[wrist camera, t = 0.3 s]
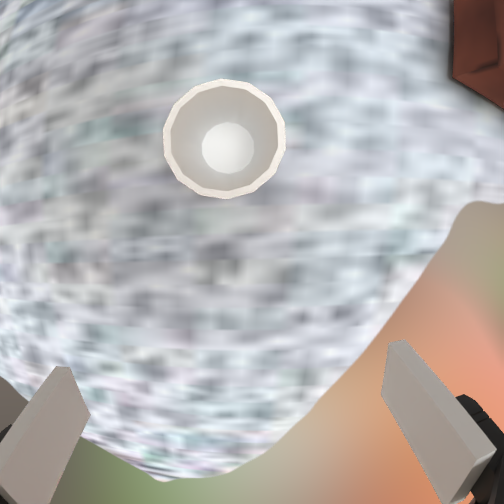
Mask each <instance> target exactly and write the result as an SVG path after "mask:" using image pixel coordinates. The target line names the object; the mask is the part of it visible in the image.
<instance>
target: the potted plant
mask: <svg viewBox="0 0 504 504" xmlns="http://www.w3.org/2000/svg"><path fill="white" fill-rule="evenodd" d="M452 78H454V79H456V80H458V81H459V82H461V83H463V84H465V85H466V86H468V87H470V88H471V89H473V90H475V91H476V92H478V93H480V94H481V95H483V96H484V97H486V98H488V99H489V100H491V101H492V102H494V103H495V104H497V105H498V106H500V107H501V108H503V109H504V0H454V58H453V76H452Z"/></svg>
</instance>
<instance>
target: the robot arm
mask: <svg viewBox="0 0 504 504" xmlns="http://www.w3.org/2000/svg"><path fill="white" fill-rule="evenodd" d="M381 396H382V397H383V399H384V401H385V403H386V404H387V406H388V408H389V410H390V411H391V413H392V415H393V416H394V418H395V420H396V421H397V423H398V425H399V427H400V429H401V430H402V432H403V434H404V436H405V438H406V439H407V441H408V443H409V445H410V446H411V448H412V450H413V452H414V453H415V455H416V457H417V459H418V461H419V463H420V464H421V466H422V468H423V470H424V472H425V473H426V475H427V477H428V479H429V481H430V482H431V484H432V486H433V488H434V490H435V492H436V494H437V496H438V498H439V499H440V501H441V503H442V504H457V503H459V502H461V501H463V500H464V499H465V498H466V496H467V495H468V494H469V492H470V491H471V492H472V494H473V495H474V498H473V499H472V500H471V502H470V503H469V504H504V433H503V432H502V431H501V430H500V429H499V427H498V426H497V425H496V424H495V423H494V422H493V420H492V419H491V418H489V416H488V415H487V413H486V412H485V411H483V409H482V408H481V407H480V405H479V404H478V403H477V402H476V401H475V400H473V399H472V398H470V397H468V396H466V395H465V394H463V395H461V396H458V397H454V396H453V394H452V393H451V392H450V391H449V390H448V389H447V387H446V386H445V385H444V384H443V382H442V381H441V380H440V379H439V378H438V377H437V375H436V374H435V373H434V372H433V371H432V370H431V368H430V367H429V366H428V365H427V364H426V363H425V362H424V360H423V359H422V358H421V357H420V356H419V355H418V354H417V353H416V351H415V350H414V349H413V348H412V347H411V346H410V345H409V343H408V342H407V341H406V340H400V341H395V342H391V343H389V344H388V352H387V359H386V366H385V372H384V379H383V385H382V391H381ZM89 417H90V413H89V411H88V409H87V406H86V404H85V402H84V400H83V398H82V395H81V393H80V391H79V388H78V386H77V384H76V381H75V379H74V376H73V374H72V371H71V369H70V367H58V366H56V367H55V368H54V370H53V371H52V372H51V374H50V375H49V376H48V377H47V379H46V380H45V381H44V383H43V384H42V385H41V387H40V388H39V389H38V391H37V392H36V393H35V395H34V396H33V397H32V399H31V400H30V402H29V403H28V404H27V406H26V407H25V408H24V410H23V411H22V413H21V414H20V415H19V417H18V418H17V420H16V421H15V422H14V424H13V425H9V426H8V427H6V428H5V429H4V430H3V431H1V433H0V504H49V503H50V501H51V499H52V496H53V494H54V492H55V489H56V487H57V485H58V483H59V480H60V478H61V476H62V474H63V471H64V469H65V467H66V465H67V463H68V461H69V458H70V456H71V454H72V452H73V450H74V448H75V446H76V444H77V442H78V439H79V437H80V435H81V433H82V431H83V429H84V427H85V425H86V423H87V421H88V419H89Z"/></svg>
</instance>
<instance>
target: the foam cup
mask: <svg viewBox="0 0 504 504" xmlns="http://www.w3.org/2000/svg"><path fill="white" fill-rule="evenodd" d="M163 145H164V157H165V159H166V160H167V162H168V164H169V166H170V168H171V169H172V171H173V173H174V175H175V177H176V178H177V180H179V181H180V182H181V183H183V184H184V185H186V186H187V187H189V188H190V189H192V190H193V191H195V192H196V193H197V194H199V195H202V196H209V197H215V198H221V199H230V198H234V197H237V196H241V195H244V194H248V193H252V192H254V191H256V190H257V189H258V188H259V187H260V186H261V185H262V184H264V183H265V182H266V181H267V180H268V179H269V178H271V177H272V176H273V175H274V174H275V173H276V170H277V168H278V166H279V163H280V161H281V159H282V157H283V154H284V152H285V150H286V138H285V121H284V120H283V118H282V116H281V114H280V112H279V111H278V109H277V107H276V105H275V104H274V102H273V100H272V98H270V97H269V96H268V95H266V94H265V93H263V92H262V91H260V90H259V89H257V88H256V87H254V86H253V85H251V84H250V83H247V82H241V81H235V80H228V79H218V80H214V81H211V82H207V83H204V84H200V85H197V86H194V87H193V88H192V89H191V90H190V91H188V92H187V93H186V94H185V95H184V96H183V97H181V98H180V99H179V100H178V101H177V102H176V103H175V104H174V105H173V107H172V109H171V112H170V114H169V116H168V118H167V121H166V123H165V125H164V128H163Z"/></svg>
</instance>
